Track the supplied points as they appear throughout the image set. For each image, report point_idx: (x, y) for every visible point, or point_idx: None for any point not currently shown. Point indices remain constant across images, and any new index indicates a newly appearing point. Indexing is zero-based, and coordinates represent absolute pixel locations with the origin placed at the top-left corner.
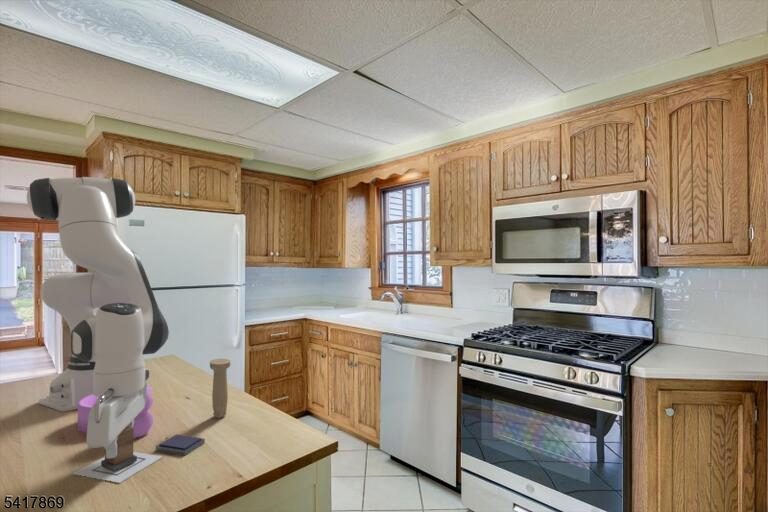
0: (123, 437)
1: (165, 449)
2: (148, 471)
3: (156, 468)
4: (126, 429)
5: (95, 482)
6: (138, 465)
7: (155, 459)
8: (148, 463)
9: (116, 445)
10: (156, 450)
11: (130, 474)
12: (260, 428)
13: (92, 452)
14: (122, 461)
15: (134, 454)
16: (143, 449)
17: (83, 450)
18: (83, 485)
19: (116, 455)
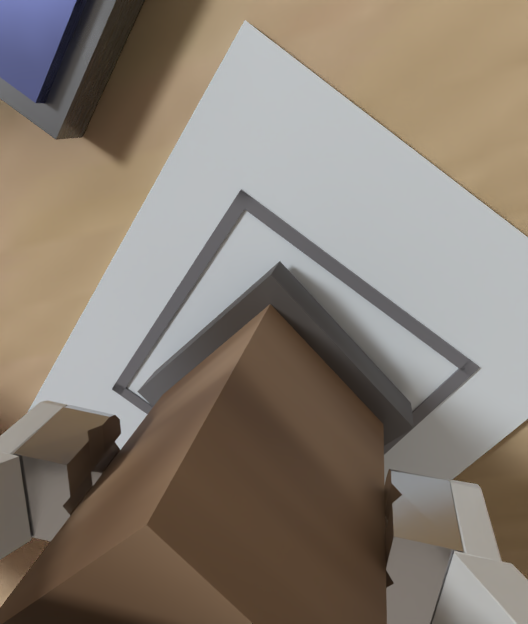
0: (304, 558)
1: (118, 15)
2: (514, 105)
3: (483, 29)
4: (188, 615)
5: (495, 481)
6: (358, 229)
7: (287, 87)
8: (352, 141)
9: (514, 598)
10: (84, 127)
11: (520, 264)
12: None
13: (36, 540)
14: (340, 376)
15: (130, 301)
16: (39, 249)
17: (5, 578)
18: (500, 537)
19: (465, 483)
